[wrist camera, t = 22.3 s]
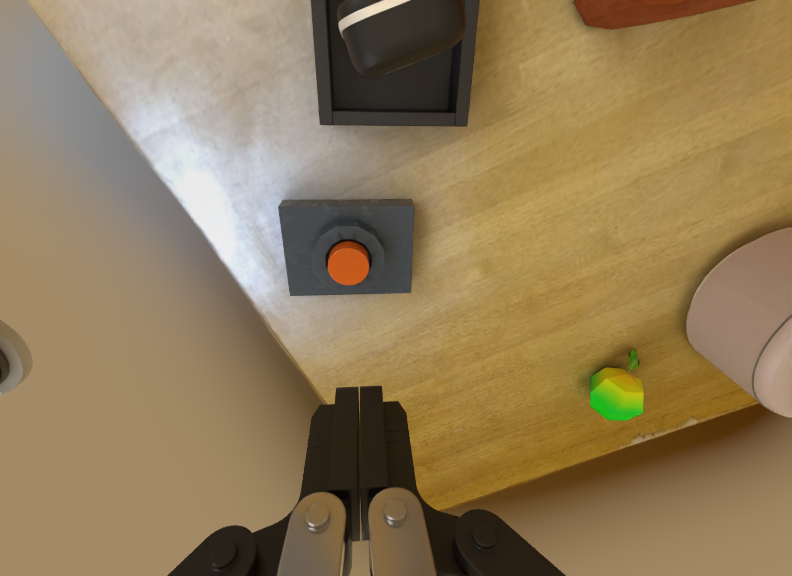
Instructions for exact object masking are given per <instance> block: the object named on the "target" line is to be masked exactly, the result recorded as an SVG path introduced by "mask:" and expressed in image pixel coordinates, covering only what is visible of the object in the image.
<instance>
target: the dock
mask: <svg viewBox="0 0 792 576" xmlns="http://www.w3.org/2000/svg"><path fill="white" fill-rule="evenodd" d="M344 1H346V0H311V8H312V22H313V36H314V49H315V63H316V77H317V91H318V105H319V119H320V125H369V126H467V123H468V113H469V102H470V92H471V82H472V72H473V62H474V51H475V41H476V31H477V21H478V11H479V1H480V0H463V3H464V9H465V14H466V29H465V33H464V35H463V37H462V39H461V40H460V41H459V42H458V43H457V44H456V45H455V46H453V47H452V48H450V49H448V50H446V51H444V52H442V53H440V54H438V55H435V56H433V57H430V58H427V59H425V60H422V61H419V62H417V63H414V64H412V65H409V66H406V67H404V68H401V69H398V70H396V71H393V72H391V73H388V74H385V75H383V76H380V77H376V78H372V79H370V78H364V77H363V76H361V75H359V73H358V72H357V71H356V70H355V68H354V66H353V63H352V61H351V58H350V55H349V52H348V49H347V46H346V43H345V40H344V39H343V38H342V36H341V33H340V30H339V26H338V23H339V22H338V18H337V10H338V8H339V6H340V5H341V4H342V3H343V2H344Z"/></svg>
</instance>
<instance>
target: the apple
mask: <svg viewBox="0 0 792 576" xmlns="http://www.w3.org/2000/svg"><path fill="white" fill-rule="evenodd" d="M628 364H629V367H628V371H626V370H624V369H623V368H607V367H606V368H604V369H602V370H601V371H599V372H597V373H596V374H594V375H593V376H591V395H590V407H592V408H593V409H594V410H595V411H597V412H598V413H599V414H601V415H602V416H603V417H605V418H606V419H607V420H617V421H626V420H629V419H631V418H633V417H635V416H637V415H639V414H642V413H643V398H644V391H643V385H642V381H641V380H640V379H638V378H637V377H635V376H634V375H632V374H631V373H629V372H630V371H631V370H633V369H635V368H636V367H638V366H639V359H638V356H637V353H636V350H635V349H634V350H633V351H632V352H630V353H629V357H628Z"/></svg>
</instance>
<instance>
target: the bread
mask: <svg viewBox="0 0 792 576" xmlns="http://www.w3.org/2000/svg"><path fill="white" fill-rule="evenodd" d="M750 1H754V0H574V4H575V5H576V7H577V9H578V11H579V13H580V15H581V17H582V19H583V21H584V23H585V25H589V26H594V27H599V28H605V29H618V28H624V27H631V26H637V25H643V24H649V23H655V22H661V21H666V20H671V19H676V18H681V17H686V16H691V15H696V14H701V13H705V12H709V11H713V10H717V9H721V8H725V7H730V6H734V5H738V4H742V3H746V2H750Z"/></svg>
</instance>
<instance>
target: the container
mask: <svg viewBox="0 0 792 576" xmlns="http://www.w3.org/2000/svg"><path fill="white" fill-rule="evenodd" d="M686 330H687V336H688V339H689V342H690V344H691V345H692V347H693V348H694V349H695V350H696V351H697V352H698V353H699V354H701V355H702V356H703V357H704V358H706V359H707V360H708V361H709V362H711V363H712V364H713V365H714V366H715V367H717V368H718V369H719V370H720V371H722V372H723V373H724V374H725V375H727V376H728V377H729V378H730V379H732V380H733V381H734V382H735V383H737V384H738V385H739V386H740V387H742V388H743V389H744V390H745V391H746V392H748V393H749V394H750V395H751V396H753V397H754V398H755V399H756V400H758V401H759V403H760V404H762V405H763V406H764V407H766V408H767V409H769V410H771V411H773V412H776V413H777V414H780V415H783V416H787V417H791V418H792V227H789V228H785V229H781V230H777V231H775V232H772V233H769V234H767V235H764V236H762V237H760V238H758V239H756V240H754V241H752V242H750V243H748V244H746V245H744V246H742V247H740V248H738V249H737V250H735V251H734V252H732V253H731V254H729V255H728V256H727V257H725V258H724V259H723V260H722V261H720V262H719V263H718V264H717V265H716V266H715V267H714V268H713V269H712V270H711V271H710V272H709V273H708V274H707V276H706V277H705V278H704V279H703V281H702V282H701V284H700V285H699V287H698V289H697V290H696V292H695V294H694V297H693V299H692V302H691V306H690V309H689V312H688V316H687V323H686Z"/></svg>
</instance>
